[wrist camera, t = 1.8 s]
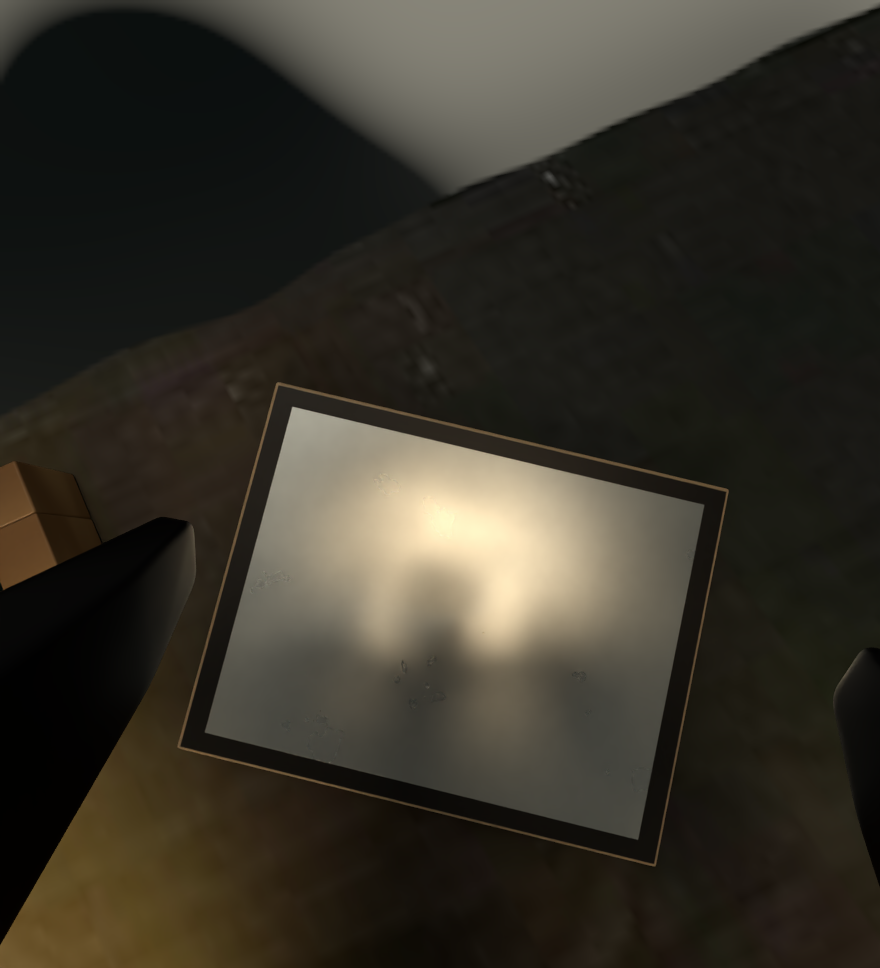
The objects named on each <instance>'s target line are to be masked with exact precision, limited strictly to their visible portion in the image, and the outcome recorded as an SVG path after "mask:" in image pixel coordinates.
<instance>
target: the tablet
mask: <svg viewBox="0 0 880 968" xmlns="http://www.w3.org/2000/svg"><path fill="white" fill-rule="evenodd" d="M728 492H729V491H728V489H726V488H721V487H717V486H713V485H709V484H705V483H700V482H696V481H692V480H688V479H684V478H679V477H675V476H671V475H667V474H663V473H658V472H654V471H650V470H646V469H642V468H637V467H633V466H629V465H625V464H621V463H616V462H612V461H608V460H604V459H600V458H595V457H591V456H587V455H583V454H579V453H574V452H570V451H566V450H562V449H558V448H553V447H549V446H545V445H541V444H537V443H532V442H528V441H524V440H520V439H516V438H511V437H507V436H503V435H499V434H495V433H490V432H486V431H482V430H478V429H474V428H469V427H465V426H461V425H457V424H453V423H448V422H444V421H440V420H436V419H432V418H427V417H423V416H419V415H415V414H411V413H406V412H402V411H398V410H394V409H390V408H385V407H381V406H377V405H373V404H369V403H364V402H360V401H356V400H352V399H348V398H343V397H339V396H335V395H331V394H327V393H322V392H318V391H314V390H310V389H306V388H301V387H297V386H293V385H289V384H284V383H280V382H277V384H276V387H275V391H274V394H273V398H272V402H271V405H270V409H269V412H268V416H267V420H266V423H265V427H264V431H263V434H262V438H261V442H260V445H259V449H258V453H257V456H256V460H255V464H254V467H253V471H252V475H251V478H250V482H249V486H248V489H247V493H246V497H245V500H244V504H243V508H242V511H241V515H240V519H239V522H238V526H237V530H236V533H235V537H234V541H233V544H232V548H231V552H230V555H229V559H228V563H227V566H226V570H225V574H224V577H223V581H222V585H221V588H220V592H219V596H218V599H217V603H216V607H215V610H214V614H213V618H212V621H211V625H210V629H209V632H208V636H207V640H206V643H205V647H204V651H203V654H202V658H201V662H200V665H199V669H198V673H197V676H196V680H195V684H194V687H193V691H192V695H191V698H190V702H189V706H188V709H187V713H186V717H185V720H184V724H183V728H182V731H181V735H180V739H179V742H178V748H179V749H183V750H187V751H191V752H195V753H199V754H203V755H207V756H211V757H215V758H219V759H223V760H227V761H231V762H235V763H239V764H243V765H247V766H251V767H255V768H259V769H263V770H267V771H271V772H275V773H279V774H283V775H287V776H291V777H295V778H299V779H303V780H307V781H311V782H315V783H319V784H324V785H328V786H332V787H336V788H340V789H344V790H348V791H352V792H356V793H360V794H364V795H368V796H372V797H376V798H380V799H384V800H388V801H392V802H396V803H400V804H404V805H408V806H412V807H416V808H420V809H424V810H428V811H432V812H436V813H440V814H444V815H448V816H452V817H456V818H460V819H464V820H468V821H472V822H476V823H480V824H484V825H489V826H493V827H497V828H501V829H505V830H509V831H513V832H517V833H521V834H525V835H529V836H533V837H537V838H541V839H545V840H549V841H553V842H557V843H561V844H565V845H569V846H573V847H577V848H581V849H585V850H589V851H593V852H597V853H601V854H605V855H609V856H613V857H617V858H621V859H625V860H629V861H633V862H637V863H641V864H645V865H649V866H656V862H657V857H658V852H659V846H660V841H661V836H662V831H663V826H664V821H665V816H666V810H667V805H668V800H669V795H670V790H671V785H672V780H673V774H674V769H675V764H676V759H677V754H678V749H679V744H680V738H681V733H682V728H683V723H684V718H685V713H686V708H687V702H688V697H689V692H690V687H691V682H692V677H693V672H694V666H695V661H696V656H697V651H698V646H699V641H700V636H701V631H702V625H703V620H704V615H705V610H706V605H707V600H708V595H709V589H710V584H711V579H712V574H713V569H714V564H715V559H716V553H717V548H718V543H719V538H720V533H721V528H722V523H723V517H724V512H725V507H726V502H727V497H728Z"/></svg>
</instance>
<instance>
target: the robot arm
mask: <svg viewBox="0 0 880 968" xmlns="http://www.w3.org/2000/svg"><path fill="white" fill-rule="evenodd" d="M195 575H196V561H195V541H194V530H193V527H192V525H191V524H190V523H189V522H188V521H184V520H178V519H173V518H167V517H159V518H156V519H154V520H152V521H150V522H147V523H145V524H143V525H141V526H139V527H137V528H135V529H132V530H130V531H128V532H126V533H124V534H122V535H120V536H118V537H115V538H113V539H111V540H109V541H107V542H105V543H103V544H100V545H98V546H96V547H94V548H92V549H90V550H88V551H85V552H83V553H81V554H79V555H77V556H75V557H73V558H70V559H68V560H66V561H64V562H62V563H60V564H58V565H56V566H53V567H51V568H49V569H47V570H45V571H43V572H41V573H38V574H36V575H34V576H32V577H30V578H28V579H26V580H23V581H21V582H19V583H17V584H15V585H13V586H11V587H9V588H6V589H4V590H2V591H0V945H1V943H2V941H3V939H4V938H5V936H6V934H7V932H8V931H9V929H10V927H11V925H12V924H13V922H14V920H15V919H16V917H17V915H18V913H19V912H20V910H21V908H22V906H23V905H24V903H25V901H26V899H27V898H28V896H29V894H30V893H31V891H32V889H33V887H34V886H35V884H36V882H37V880H38V879H39V877H40V875H41V873H42V872H43V870H44V868H45V867H46V865H47V863H48V861H49V860H50V858H51V856H52V854H53V853H54V851H55V849H56V847H57V846H58V844H59V842H60V841H61V839H62V837H63V835H64V834H65V832H66V830H67V828H68V827H69V825H70V823H71V822H72V820H73V818H74V816H75V815H76V813H77V811H78V809H79V808H80V806H81V804H82V802H83V801H84V799H85V797H86V796H87V794H88V792H89V790H90V789H91V787H92V785H93V783H94V782H95V780H96V778H97V776H98V775H99V773H100V771H101V770H102V768H103V766H104V764H105V763H106V761H107V759H108V757H109V756H110V754H111V752H112V750H113V749H114V747H115V745H116V744H117V742H118V740H119V738H120V737H121V735H122V733H123V731H124V730H125V728H126V726H127V724H128V723H129V721H130V719H131V718H132V716H133V714H134V712H135V711H136V709H137V707H138V705H139V704H140V702H141V700H142V698H143V696H144V695H145V693H146V691H147V689H148V687H149V685H150V683H151V681H152V679H153V677H154V675H155V673H156V670H157V668H158V666H159V664H160V661H161V659H162V657H163V654H164V652H165V650H166V647H167V645H168V643H169V640H170V638H171V636H172V634H173V631H174V629H175V627H176V624H177V622H178V620H179V617H180V615H181V613H182V610H183V608H184V606H185V603H186V601H187V599H188V596H189V594H190V592H191V590H192V587H193V584H194V580H195ZM833 706H834V712H835V716H836V721H837V726H838V730H839V735H840V740H841V745H842V749H843V754H844V759H845V763H846V768H847V773H848V777H849V782H850V787H851V791H852V796H853V800H854V804H855V809H856V813H857V817H858V820H859V823H860V827H861V830H862V834H863V837H864V840H865V843H866V846H867V849H868V852H869V855H870V858H871V862H872V865H873V868H874V871H875V874H876V877H877V880H878V883H879V886H880V649H878V648H866V649H864V650H863V651H861V652H860V653H859V654H858V656H857V657H856V659H855V660H854V662H853V663H852V665H851V666H850V668H849V669H848V671H847V672H846V674H845V675H844V677H843V678H842V680H841V681H840V683H839V684H838V686H837V688H836V690H835V693H834V698H833Z"/></svg>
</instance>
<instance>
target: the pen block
mask: <svg viewBox="0 0 880 968" xmlns="http://www.w3.org/2000/svg"><path fill="white" fill-rule="evenodd" d="M100 544H102V543H101V541H100V539H99V536H98V534H97V531H96V529H95V527H94V524H93V522H92V520H91V519H90V515H89V513H88V510H87V508H86V505H85V503H84V501H83V498H82V496H81V493H80V491H79V489H78V486H77V484H76V481H75V479H74V477H73V475H72V474H69V473H64V472H60V471H56V470H51V469H47V468H43V467H39V466H34V465H30V464H26V463H22V462H17V461H13V462H11V463H8V464H6V465H4V466H2V467H0V583H1V586H2V588H3V590H4V589H6V588H9V587H11V586H13V585H15V584H17V583H19V582H21V581H23V580H26V579H28V578H30V577H32V576H34V575H36V574H38V573H41V572H43V571H45V570H47V569H49V568H51V567H53V566H56V565H58V564H60V563H62V562H64V561H66V560H68V559H70V558H73V557H75V556H77V555H79V554H81V553H83V552H85V551H88V550H90V549H92V548H94V547H96V546H98V545H100Z"/></svg>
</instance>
